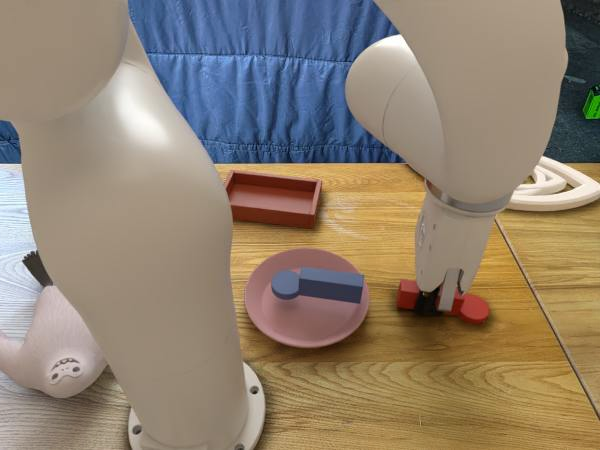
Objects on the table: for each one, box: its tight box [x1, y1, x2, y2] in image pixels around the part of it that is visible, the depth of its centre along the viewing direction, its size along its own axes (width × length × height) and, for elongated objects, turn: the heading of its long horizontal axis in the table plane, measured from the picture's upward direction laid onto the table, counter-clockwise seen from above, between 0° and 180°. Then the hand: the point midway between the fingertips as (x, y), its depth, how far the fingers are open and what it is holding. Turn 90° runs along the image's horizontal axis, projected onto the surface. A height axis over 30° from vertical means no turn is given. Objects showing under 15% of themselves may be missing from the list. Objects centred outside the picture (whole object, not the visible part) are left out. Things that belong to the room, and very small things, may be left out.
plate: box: [243, 247, 370, 349], centre depth 52 cm, size 14×14×2 cm
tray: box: [223, 169, 323, 230], centre depth 64 cm, size 14×8×3 cm, turn 80°
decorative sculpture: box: [404, 155, 600, 212], centre depth 70 cm, size 15×29×2 cm, turn 82°
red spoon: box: [396, 278, 490, 325], centre depth 51 cm, size 10×4×3 cm, turn 80°
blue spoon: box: [271, 267, 365, 304], centre depth 50 cm, size 10×4×3 cm, turn 80°
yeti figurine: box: [0, 249, 109, 399], centre depth 47 cm, size 20×7×20 cm
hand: (427, 303), depth 52 cm, fingers closed on red spoon
